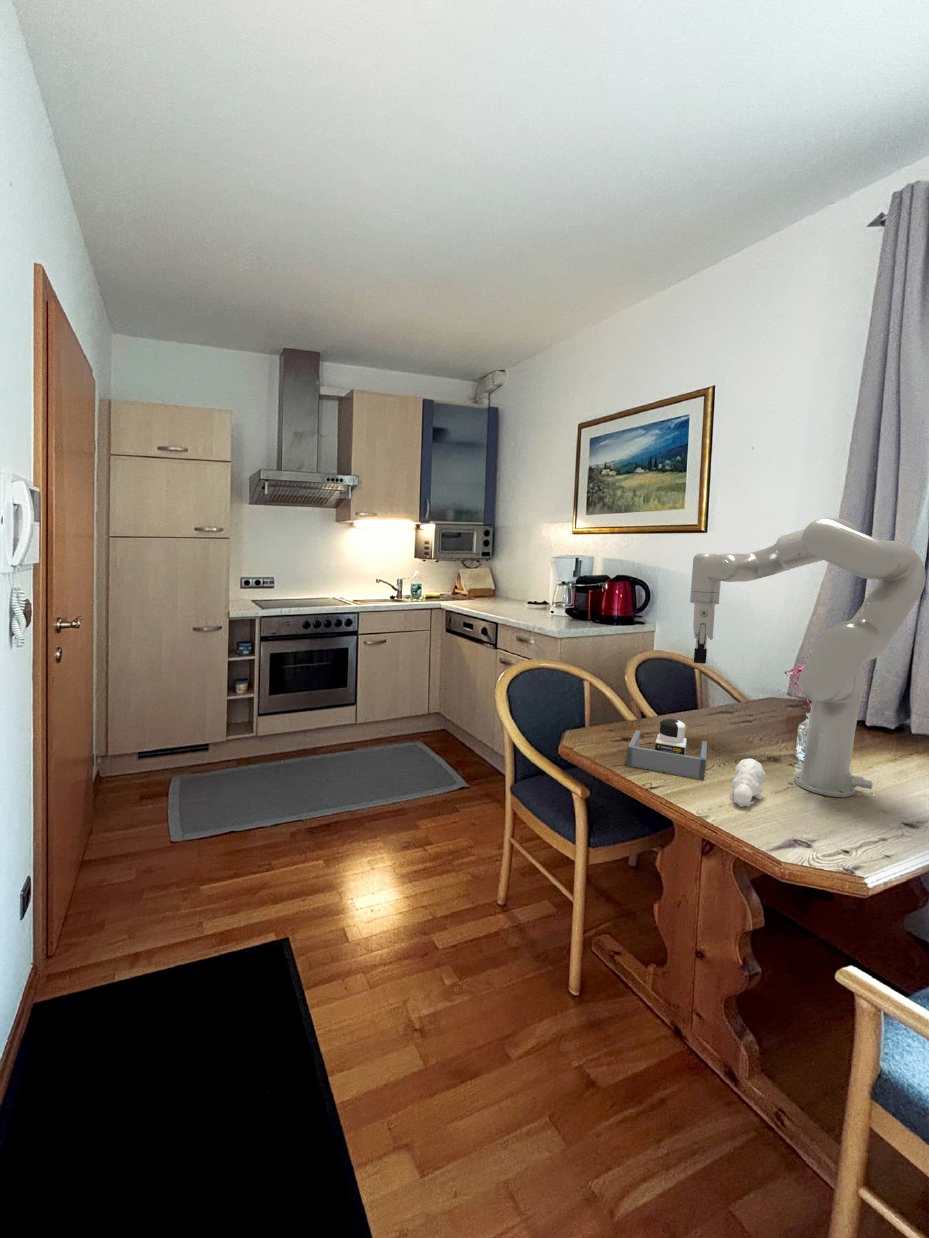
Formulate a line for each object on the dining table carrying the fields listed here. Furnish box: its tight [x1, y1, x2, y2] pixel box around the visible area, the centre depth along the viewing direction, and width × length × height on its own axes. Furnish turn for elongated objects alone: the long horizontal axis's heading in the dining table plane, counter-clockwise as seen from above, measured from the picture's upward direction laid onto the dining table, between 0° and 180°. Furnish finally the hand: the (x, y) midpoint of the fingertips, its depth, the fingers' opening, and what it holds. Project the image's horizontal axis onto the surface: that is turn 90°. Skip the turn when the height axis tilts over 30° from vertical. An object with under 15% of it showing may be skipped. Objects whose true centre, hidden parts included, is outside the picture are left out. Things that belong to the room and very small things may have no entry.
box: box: [626, 729, 708, 781], centre depth 157 cm, size 18×15×5 cm
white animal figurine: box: [730, 758, 766, 808], centre depth 135 cm, size 6×8×12 cm
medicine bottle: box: [654, 718, 687, 755], centre depth 154 cm, size 7×7×12 cm
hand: (699, 662), depth 170 cm, fingers closed
